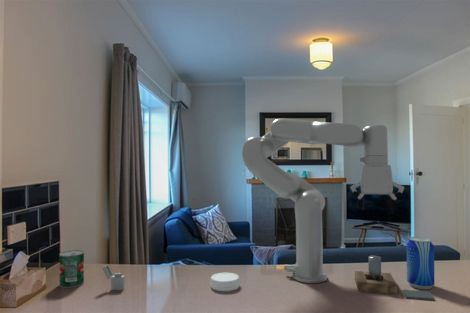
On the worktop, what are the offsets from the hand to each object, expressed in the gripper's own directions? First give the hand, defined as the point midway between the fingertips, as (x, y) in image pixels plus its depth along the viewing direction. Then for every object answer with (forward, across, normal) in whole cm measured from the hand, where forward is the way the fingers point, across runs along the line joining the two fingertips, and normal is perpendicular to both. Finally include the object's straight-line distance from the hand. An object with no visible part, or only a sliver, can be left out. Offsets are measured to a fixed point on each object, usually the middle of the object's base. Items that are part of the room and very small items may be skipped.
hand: (377, 210), depth 123 cm
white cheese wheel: (+25, -49, -20) cm, 59 cm away
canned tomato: (+24, -99, -39) cm, 109 cm away
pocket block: (+26, -1, -1) cm, 26 cm away
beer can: (+26, +13, +5) cm, 30 cm away
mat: (+26, +12, -5) cm, 29 cm away
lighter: (+25, -82, -37) cm, 94 cm away
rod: (+26, -1, -1) cm, 26 cm away
